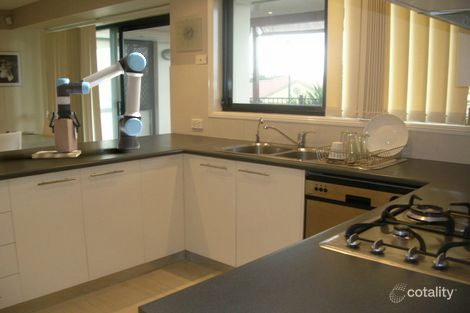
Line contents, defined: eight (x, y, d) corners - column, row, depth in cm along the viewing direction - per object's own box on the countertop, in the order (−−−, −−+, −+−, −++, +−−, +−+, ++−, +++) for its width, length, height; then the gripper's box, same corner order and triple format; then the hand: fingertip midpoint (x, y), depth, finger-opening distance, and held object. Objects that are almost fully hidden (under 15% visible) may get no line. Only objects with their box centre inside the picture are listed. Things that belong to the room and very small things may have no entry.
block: (69, 151, 281) (67, 119, 278) (54, 151, 283) (52, 119, 280) (78, 149, 291) (76, 118, 288) (63, 149, 293) (62, 118, 290)
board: (81, 153, 297) (80, 150, 296) (76, 157, 281) (76, 153, 281) (39, 154, 293) (38, 151, 292) (32, 158, 277) (31, 154, 277)
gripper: (84, 103, 288) (86, 137, 291) (45, 103, 285) (47, 138, 288) (82, 103, 281) (84, 138, 284) (42, 104, 277) (44, 139, 281)
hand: (66, 138), depth 286 cm, fingers closed on block, 12 cm apart
